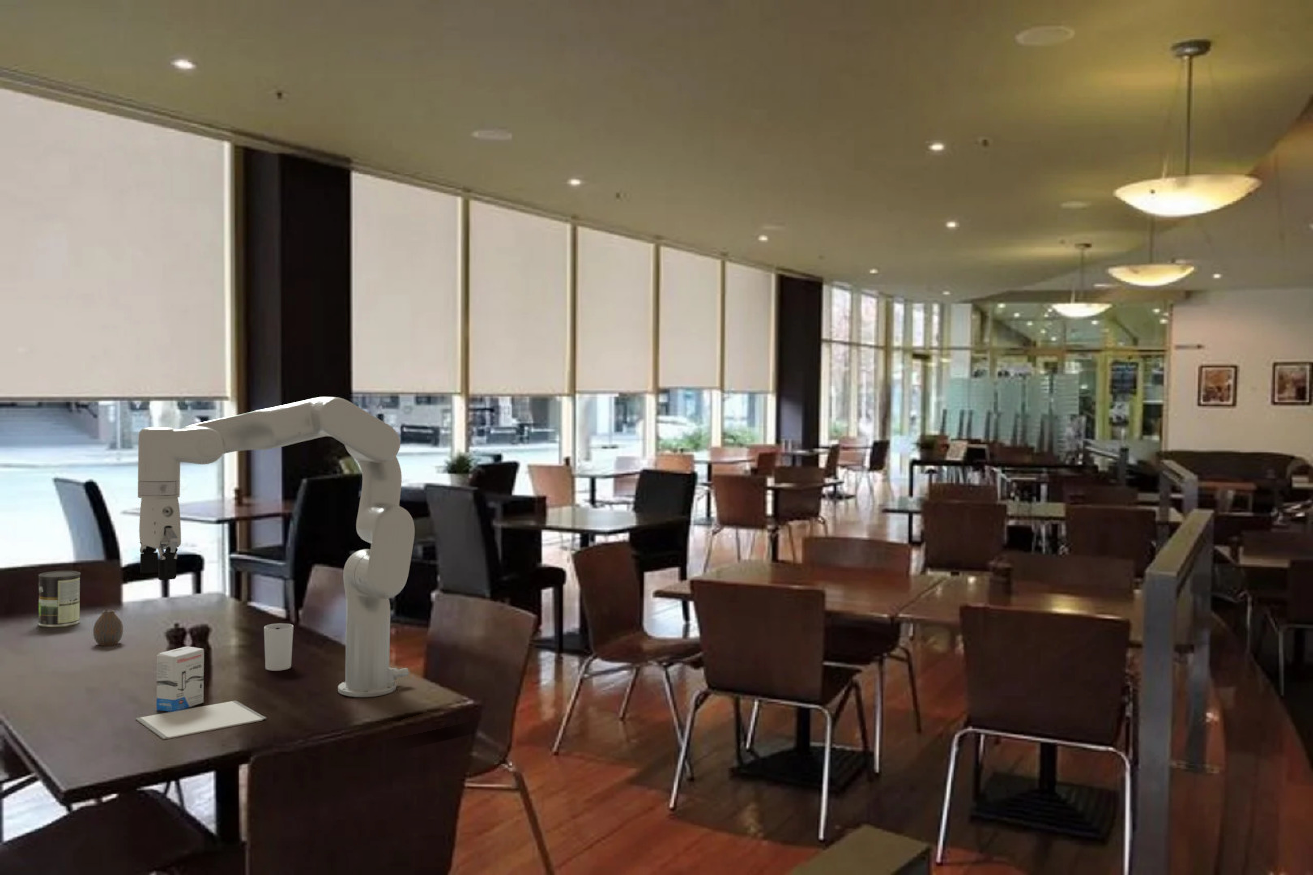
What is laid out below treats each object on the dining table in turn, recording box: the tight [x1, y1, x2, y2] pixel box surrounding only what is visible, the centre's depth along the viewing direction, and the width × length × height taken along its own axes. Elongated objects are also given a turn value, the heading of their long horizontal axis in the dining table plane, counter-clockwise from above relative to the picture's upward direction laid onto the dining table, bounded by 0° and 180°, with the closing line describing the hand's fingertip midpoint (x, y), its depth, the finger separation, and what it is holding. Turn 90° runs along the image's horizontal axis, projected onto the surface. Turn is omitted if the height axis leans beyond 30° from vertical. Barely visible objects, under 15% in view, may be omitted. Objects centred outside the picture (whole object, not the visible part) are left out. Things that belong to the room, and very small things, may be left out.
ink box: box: [156, 646, 205, 712], centre depth 222 cm, size 9×5×12 cm, turn 160°
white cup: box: [263, 623, 294, 672], centre depth 255 cm, size 7×7×10 cm
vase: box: [92, 609, 124, 647], centre depth 274 cm, size 7×7×9 cm
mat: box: [135, 700, 267, 740], centre depth 213 cm, size 20×16×1 cm
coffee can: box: [38, 570, 81, 628], centre depth 297 cm, size 10×10×14 cm
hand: (157, 576), depth 209 cm, fingers open, 9 cm apart
